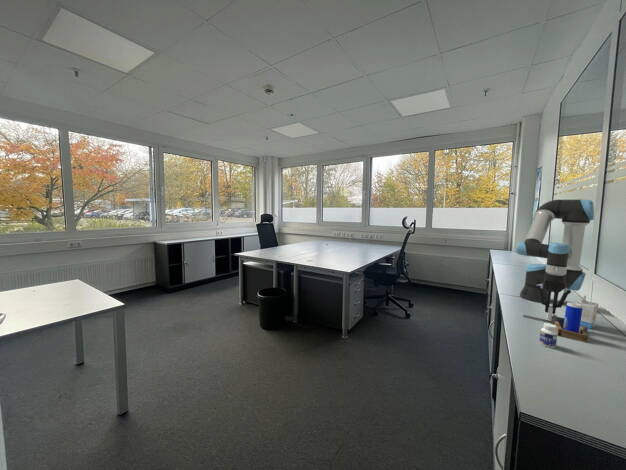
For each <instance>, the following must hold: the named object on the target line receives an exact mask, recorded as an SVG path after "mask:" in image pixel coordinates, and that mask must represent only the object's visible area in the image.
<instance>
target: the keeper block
mask: <svg viewBox="0 0 626 470" xmlns="http://www.w3.org/2000/svg"><path fill="white" fill-rule="evenodd" d="M522 316H523V318H525V319H526V318H527V319H532V320H536V321H540V322H544V323H549V324H550V321H551V320H547V319H546V318H545V319H544V318H540V317H535V316H531V315H527V314H523V315H522ZM554 325H555V326H556V327H557V328H556V330H555V331H556V332H557V333H558V335H557V337H562V338H566V339H571V340H575V341H578V342H582V343H588V340H589V339H588V338H589V335H588V332H589V331H588V330H589V329H588V328H586V327H582V326H580V328H579V333H576V332H571V331H567V330H563V328H562V327H561V326H560V324H559V322H558V321H556V320H555V323H554Z"/></svg>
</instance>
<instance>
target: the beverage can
mask: <svg viewBox="0 0 626 470" xmlns="http://www.w3.org/2000/svg"><path fill="white" fill-rule="evenodd" d="M582 309H583V307H582V305H581V303H577V302H572V301H568V302H567V303H566V307H565V313H564V318H565V319H564V326H563V327H562V329H563V330H567V331H571V332H576V333H579V328H580V322H581V315H582Z"/></svg>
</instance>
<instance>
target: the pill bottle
mask: <svg viewBox="0 0 626 470" xmlns="http://www.w3.org/2000/svg"><path fill="white" fill-rule="evenodd" d="M556 328H557V327H556V326H555V325H553V324H550V323H548V322H544V323H543V327H542V328H541V329H540V333H539V341H538V342H539V344H540V345H541V344H542V346H543V345H544V347H546V346H547V348H549V347H551V349H555V348H556V347H557V342H558V341H557V340H558V333H557V332H556Z"/></svg>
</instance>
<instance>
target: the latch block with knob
mask: <svg viewBox="0 0 626 470" xmlns="http://www.w3.org/2000/svg"><path fill="white" fill-rule="evenodd" d="M564 319H565V317H560V316H558V314H556V313H555V314H552V319H551V320H550V323H549V324H553V325H554V323H555V320H556V321H558V322H559V324H560V326H561V328H563V326H564Z"/></svg>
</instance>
